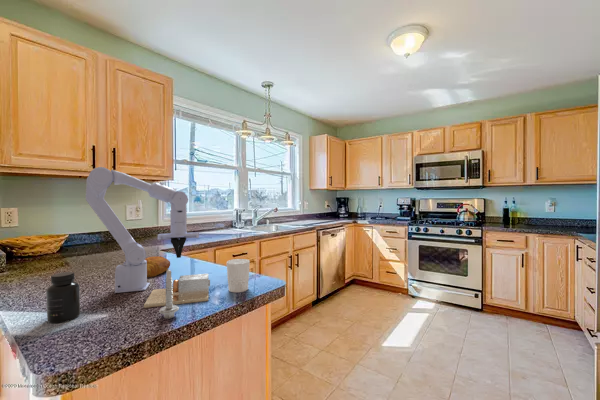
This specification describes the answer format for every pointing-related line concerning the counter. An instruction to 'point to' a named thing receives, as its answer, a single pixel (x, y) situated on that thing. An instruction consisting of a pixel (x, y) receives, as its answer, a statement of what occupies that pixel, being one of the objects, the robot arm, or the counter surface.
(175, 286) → the shaft
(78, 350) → the counter surface
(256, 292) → the counter surface
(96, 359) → the counter surface
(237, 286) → the white cup
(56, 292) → the supplement bottle
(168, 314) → the screw
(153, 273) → the croissant
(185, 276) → the bearing block
